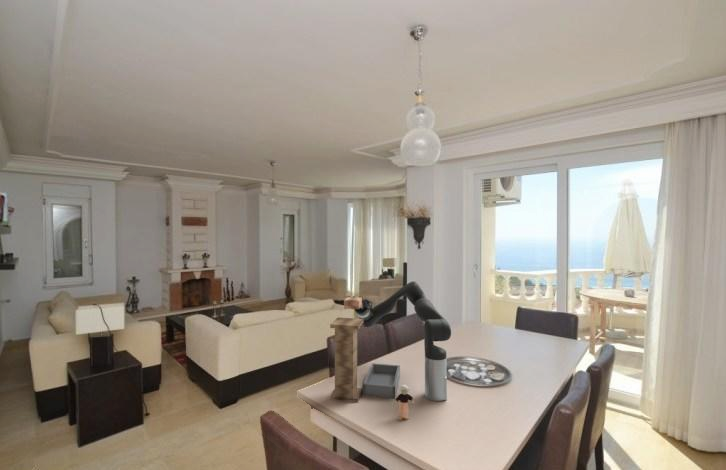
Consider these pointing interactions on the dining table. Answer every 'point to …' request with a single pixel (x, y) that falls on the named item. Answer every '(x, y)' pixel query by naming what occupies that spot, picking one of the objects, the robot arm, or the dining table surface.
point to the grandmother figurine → (403, 402)
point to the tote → (382, 381)
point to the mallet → (352, 303)
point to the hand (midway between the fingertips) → (356, 298)
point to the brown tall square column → (346, 359)
